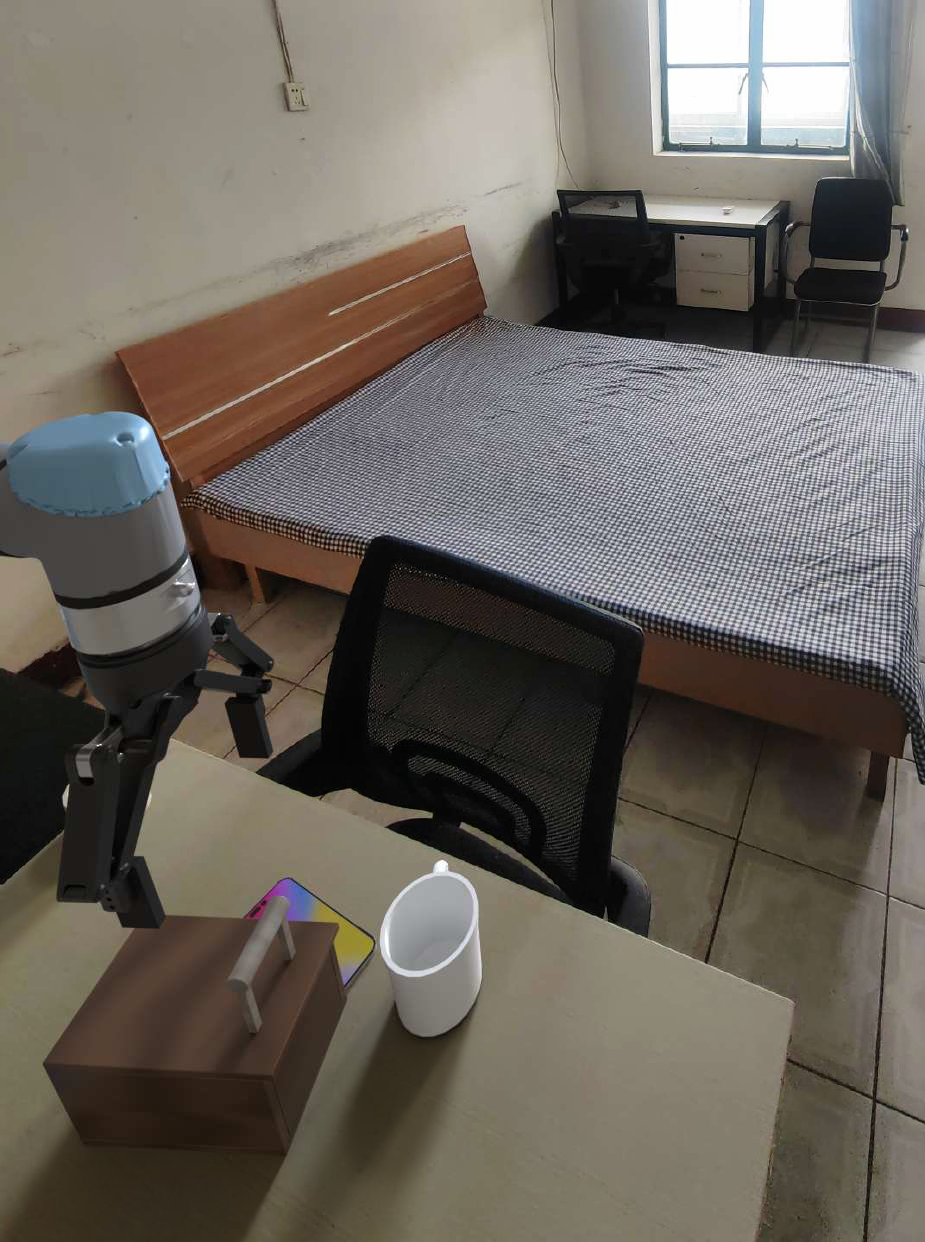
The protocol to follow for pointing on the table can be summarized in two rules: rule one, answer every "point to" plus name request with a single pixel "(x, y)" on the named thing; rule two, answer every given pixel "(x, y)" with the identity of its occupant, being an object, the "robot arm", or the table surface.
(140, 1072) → the lid
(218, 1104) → the wooden box
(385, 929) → the mug
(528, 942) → the table surface
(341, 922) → the smartphone
